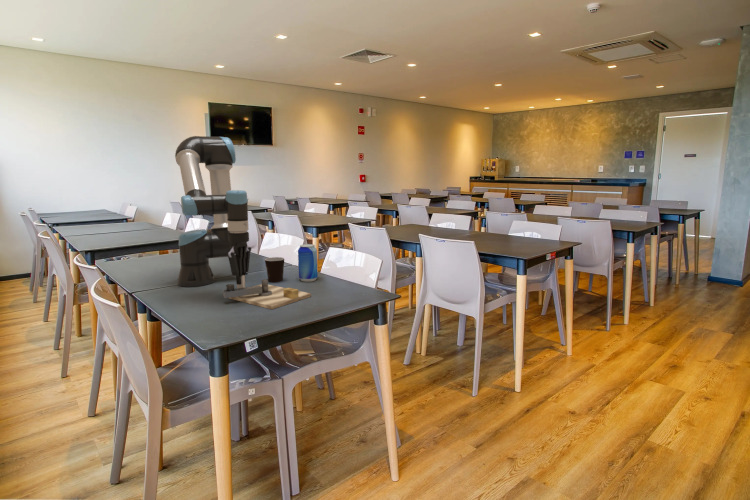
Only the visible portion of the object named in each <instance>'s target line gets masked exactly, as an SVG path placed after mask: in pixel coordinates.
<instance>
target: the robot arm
mask: <svg viewBox="0 0 750 500" xmlns="http://www.w3.org/2000/svg"><path fill="white" fill-rule="evenodd" d="M174 157H175V161H176V164H177V165H178V166H179V169H180V175H181V181H182V185H183V190H184V195H183V196H181V197H180V202H181V203H180V206H181V213H182V214H183V215H184V216H194V217H196V216H208V215H209V216H210V215H211V216H213V225H212V226H211V228H210V230H211V231H210V232H208V231H207V229H202V228H201V229H194V230H189V231H186V232H182V233H180V234H179V236H178V247H179V260H180V261H179V262H180V269H179V274H178V276H177V284H178V286H179V287H184V288H185V287H188V288H191V287H193V288H194V287H201V286H208V285H210V284H213V283H214V282H215V275H214V273H213V270H212V268H211V266H210V260H209V259H218V258H228V262H229V267H230V273H231V275H232V276H233V277H235V278H236V280H235V281H236V282H235V284H236V289H237V288H244V287H246V276H248V273H249V271H250V270H249V269H250V258H251V252H252V247H250V246H248V243H249V241H250V232H249V209H248V206H249V205H248V202H249V201H248V200H249V199H248V195H247V194H248V193H247V191H246V190H240V189H239V190H238V189H236V190H235V189H233V190H232V187H231V186H232V184H231V183H232V182H231V173H230V171H231V170H232V168H233V164H235V163H236V161H237V158H236V150H235V146H234V143H233V141H232V139H231V138H229V137H226V136H225V137H224V136H199V135H194V136H189V137H187V138H185V139H183V140H182V141H181V142H180V143H179V145H178V146H177V147H176V149H175V154H174ZM200 164H204V165H205V166H204V167H205V169H206V170H207V171H209V172H208V173H209V179H210V180H209V181H210V182H209V183H210V191H211V194H207V193H206V188H205V183H204V179H203V175H202V172H201V168H200ZM247 242H248V243H247Z"/></svg>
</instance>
